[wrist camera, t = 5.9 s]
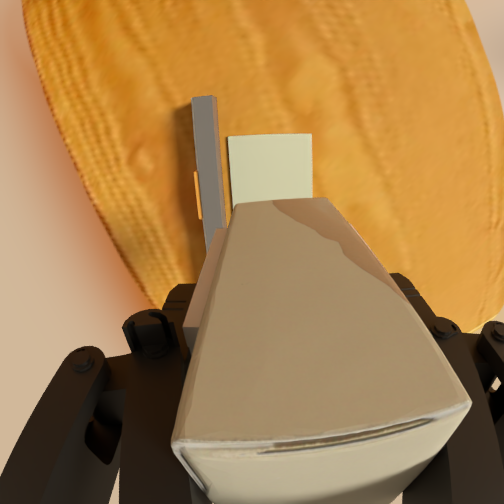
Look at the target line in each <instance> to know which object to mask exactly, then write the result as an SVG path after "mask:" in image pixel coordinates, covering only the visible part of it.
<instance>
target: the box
mask: <svg viewBox="0 0 504 504" xmlns="http://www.w3.org/2000/svg"><path fill="white" fill-rule="evenodd" d="M471 405H472V401H471V399H470V397H469V395H468V394H467V392H466V390H465V388H464V387H463V385H462V383H461V382H460V380H459V378H458V377H457V375H456V373H455V372H454V370H453V368H452V367H451V365H450V364H449V362H448V360H447V359H446V357H445V355H444V354H443V352H442V350H441V349H440V347H439V346H438V344H437V343H436V341H435V340H434V338H433V337H432V335H431V333H430V332H429V330H428V329H427V327H426V326H425V324H424V323H423V321H422V320H421V318H420V317H419V315H418V314H417V312H416V311H415V310H414V308H413V307H412V305H411V304H410V302H409V301H408V300H407V298H406V297H405V295H404V294H403V293H402V291H401V290H400V288H399V287H398V286H397V284H396V283H395V281H394V280H393V279H392V278H391V276H390V275H389V274H388V272H387V271H386V269H385V268H384V267H383V265H382V264H381V263H380V262H379V260H378V259H377V258H376V256H375V255H374V254H373V253H372V251H371V250H370V249H369V247H368V246H367V245H366V244H365V243H364V241H363V240H362V239H361V237H360V236H359V235H358V234H357V233H356V231H355V230H354V229H353V228H352V226H351V225H350V224H349V223H348V222H347V221H346V219H345V218H344V217H343V216H342V215H341V214H340V212H339V211H338V210H337V209H336V208H335V207H334V205H333V204H332V203H331V202H330V201H329V200H328V199H327V198H294V199H279V200H266V201H256V202H246V203H238V204H236V205H235V206H234V209H233V212H232V216H231V219H230V222H229V226H228V229H227V232H226V235H225V239H224V242H223V245H222V248H221V252H220V255H219V259H218V262H217V266H216V269H215V273H214V276H213V280H212V283H211V287H210V291H209V294H208V298H207V301H206V305H205V308H204V312H203V315H202V319H201V323H200V326H199V330H198V334H197V338H196V341H195V345H194V349H193V352H192V356H191V360H190V364H189V368H188V371H187V375H186V379H185V382H184V387H183V391H182V395H181V399H180V403H179V407H178V411H177V416H176V421H175V426H174V430H173V434H172V437H171V447H172V450H173V452H174V454H175V455H176V457H177V458H178V459H179V461H180V462H181V463H182V465H183V466H184V467H185V469H186V470H187V472H188V473H189V474H190V476H191V477H192V478H193V479H194V481H195V482H196V483H197V484H198V486H199V487H200V488H201V490H202V491H203V492H204V493H205V495H206V496H207V497H208V498H209V500H210V501H211V502H213V503H214V504H390V503H391V502H392V501H393V500H394V499H395V498H396V497H397V496H398V495H399V494H400V493H401V492H403V491H404V490H405V489H406V488H407V487H408V486H409V485H410V484H411V483H412V482H413V480H414V479H416V478H417V476H418V475H419V474H420V473H421V472H422V471H423V470H424V469H425V468H426V466H427V465H428V464H429V463H430V462H431V461H432V460H433V458H434V457H435V456H436V455H437V453H438V452H439V451H440V450H441V448H442V447H443V446H444V445H445V443H446V442H447V441H448V439H449V438H450V437H451V435H452V434H453V433H454V431H455V430H456V428H457V427H458V426H459V424H460V423H461V421H462V420H463V419H464V417H465V416H466V414H467V413H468V411H469V409H470V407H471Z"/></svg>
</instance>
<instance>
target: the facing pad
mask: <svg viewBox="0 0 504 504" xmlns="http://www.w3.org/2000/svg"><path fill="white" fill-rule="evenodd" d="M228 147H229V161H230V174H231V187H232V200H233V209H234V206H235V205H236V204H238V203H246V202H256V201H266V200H279V199H294V198H312V134H262V135H243V136H228Z"/></svg>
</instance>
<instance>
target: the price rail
mask: <svg viewBox="0 0 504 504" xmlns="http://www.w3.org/2000/svg"><path fill="white" fill-rule="evenodd" d="M191 105H192V118H193V131H194V143H195V154H196V164H197V170H196V171H194V180H195V189H196V198H197V207H198V215H199V219H202V220H203V228H204V236H205V244H206V252H207V253H208V250H209V247H210V244H211V242H212V239H213V236H214V233H215V231H216V229H221V228H227V225H226V214H225V203H224V191H223V179H222V167H221V155H220V141H219V128H218V114H217V99H216V97H214V96H212V95H210V96H201V97H193V98H191Z"/></svg>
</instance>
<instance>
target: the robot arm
mask: <svg viewBox="0 0 504 504" xmlns="http://www.w3.org/2000/svg"><path fill="white" fill-rule="evenodd" d="M350 225H351V224H350ZM351 226H352V225H351ZM352 228H353V229H354V230H355V228H354V227H353V226H352ZM227 229H228V228H221V229H216V231H215V233H214V236H213V239H212V242H211V244H210V247H209V250H208V253H207V256H206V259H205V261H204V264H203V267H202V270H201V273H200V276H199V279H198V282H197V284H178V285H177V286H176V287H175V288H173V289H172V290H171V291H170V292H169V294H168V296H167V299H166V303H164V305H163V307H162V310H160V309H148V310H144V311H140V312H138V313H135V314H134V315H131V316H130V317H129V318H128V319H127V320H126V321H125V322H124V324H123V326H122V329H123V332H124V334H125V337H126V340H127V342H128V345H129V347H130V350H131V353H130V354H126V355H121V356H115V357H109V358H105V355H104V354H103V352H102V351H101V350H100V349H99V348H97V347H94V346H84V347H81V348H78V349H76V350H74V351H72V352H71V353H70V354H69V355H68V356H67V357H66V358H65V359H64V361H63V362H62V364H61V366H60V367H59V369H58V370H57V372H56V374H55V375H54V377H53V378H52V380H51V382H50V383H49V385H48V387H47V388H46V390H45V392H44V393H43V395H42V397H41V399H40V400H39V402H38V404H37V405H36V407H35V409H34V411H33V413H32V414H31V416H30V418H29V420H28V422H27V424H26V426H25V427H24V429H23V431H22V433H21V435H20V437H19V439H18V441H17V442H16V445H15V447H14V448H13V451H12V453H11V455H10V457H9V459H8V461H7V463H6V465H5V467H4V470H3V472H2V474H1V476H0V504H109V500H110V497H111V494H112V490H113V487H114V484H115V480H116V477H117V473H118V470H119V467H120V473H119V474H120V475H119V504H212V502H211V501H210V500H209V498H208V497H207V496H206V495H205V493H204V492H203V491H202V490H201V488H200V487H199V486H198V484H197V483H196V482H195V481H194V479H193V478H192V477H191V476H190V474H189V473H188V472H187V470H186V469H185V467H184V466H183V465H182V463H181V462H180V461H179V459H178V458H177V457H176V455H175V454H174V452H173V450H172V447H171V437H172V434H173V430H174V426H175V421H176V416H177V411H178V407H179V403H180V399H181V395H182V391H183V387H184V382H185V379H186V375H187V371H188V368H189V364H190V360H191V356H192V352H193V349H194V345H195V341H196V338H197V334H198V330H199V326H200V323H201V319H202V315H203V312H204V308H205V305H206V301H207V298H208V294H209V291H210V287H211V283H212V280H213V276H214V273H215V269H216V266H217V262H218V259H219V255H220V252H221V248H222V245H223V242H224V239H225V235H226V232H227ZM355 231H356V230H355ZM356 233H357V234H358V235H359V233H358V232H357V231H356ZM359 236H360V235H359ZM360 237H361V236H360ZM361 239H362V237H361ZM362 240H363V239H362ZM363 241H364V240H363ZM364 243H365V241H364ZM365 244H366V243H365ZM366 245H367V244H366ZM367 246H368V245H367ZM368 247H369V246H368ZM369 249H370V248H369ZM370 250H371V249H370ZM371 251H372V250H371ZM372 253H373V252H372ZM373 254H374V253H373ZM374 255H375V254H374ZM376 258H377V257H376ZM377 259H378V258H377ZM379 262H380V261H379ZM380 263H381V262H380ZM388 274H389V273H388ZM389 275H390V276H391V278H392V279H393V280H394V281H395V283H396V284H397V286H398V287H399V288H400V290H401V291H402V293H403V294H404V295H405V297H406V298H407V300H408V301H409V302H410V304H411V305H412V307H413V308H414V310H415V311H416V312H417V314H418V315H419V317H420V318H421V320H422V321H423V323H424V324H425V326H426V327H427V329H428V330H429V332H430V333H431V335H432V337H433V338H434V340H435V341H436V343H437V344H438V346H439V347H440V349H441V350H442V352H443V354H444V355H445V357H446V359H447V360H448V362H449V364H450V365H451V367H452V368H453V370H454V372H455V373H456V375H457V377H458V378H459V380H460V382H461V383H462V385H463V387H464V388H465V390H466V392H467V394H468V395H469V397H470V399H471V401H472V405H471V407H470V409H469V411H468V413H467V414H466V416H465V417H464V419H463V420H462V421H461V423H460V424H459V426H458V427H457V428H456V430H455V431H454V433H453V434H452V435H451V437H450V438H449V439H448V441H447V442H446V443H445V445H444V446H443V447H442V448H441V450H440V451H439V452H438V453H437V455H436V456H435V457H434V458H433V460H432V461H431V462H430V463H429V464H428V465H427V466H426V468H425V469H424V470H423V471H422V472H421V473H420V474H419V475H418V476H417V478H416V479H414V480H413V482H412V483H411V484H410V485H409V486H408V487H407V488H406V489H405V490H404V491H403V496H402V504H504V323H502V322H498V321H489V322H487V323H485V325H484V327H483V329H482V331H481V333H480V334H471V333H462V332H461V330H460V328H459V327H458V326H457V325H456V324H455V323H454V322H452V321H451V320H449V319H446V318H443V317H436V315H435V314H434V312H433V311H432V310H431V308H430V307H429V306H428V304H427V303H426V302H425V300H424V299H423V297H422V296H420V293H419V292H418V291H417V290H416V289H415V287H414V286H413V284H412V283H411V282H410V280H409V279H407V278H406V277H404V276H403V275H401V274H400V273H390V274H389ZM497 377H498V379H499V380H500V382H501V385H500V386H499V388H498V389H497V390H494V389H493V388H492V387H491V386H492V384H493V383H494V381H495V379H496V378H497Z"/></svg>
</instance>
